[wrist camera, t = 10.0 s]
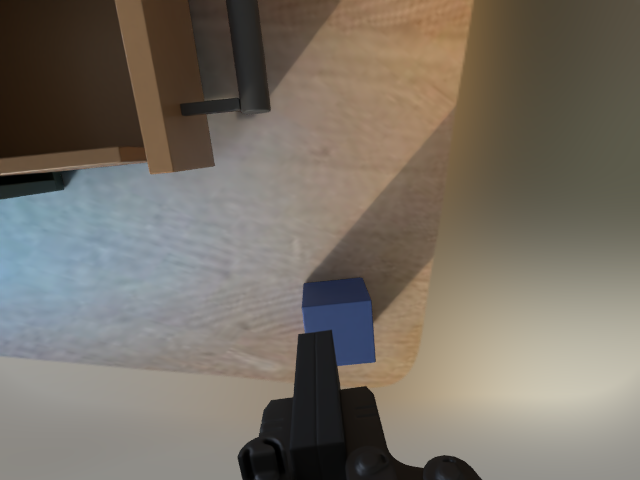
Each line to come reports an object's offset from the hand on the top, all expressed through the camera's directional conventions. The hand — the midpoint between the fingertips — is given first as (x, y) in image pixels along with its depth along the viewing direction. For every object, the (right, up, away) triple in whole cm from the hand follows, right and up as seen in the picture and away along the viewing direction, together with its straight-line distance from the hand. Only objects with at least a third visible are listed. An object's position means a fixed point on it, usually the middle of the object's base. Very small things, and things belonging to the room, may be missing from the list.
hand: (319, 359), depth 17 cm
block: (+1, 0, +13) cm, 13 cm away
